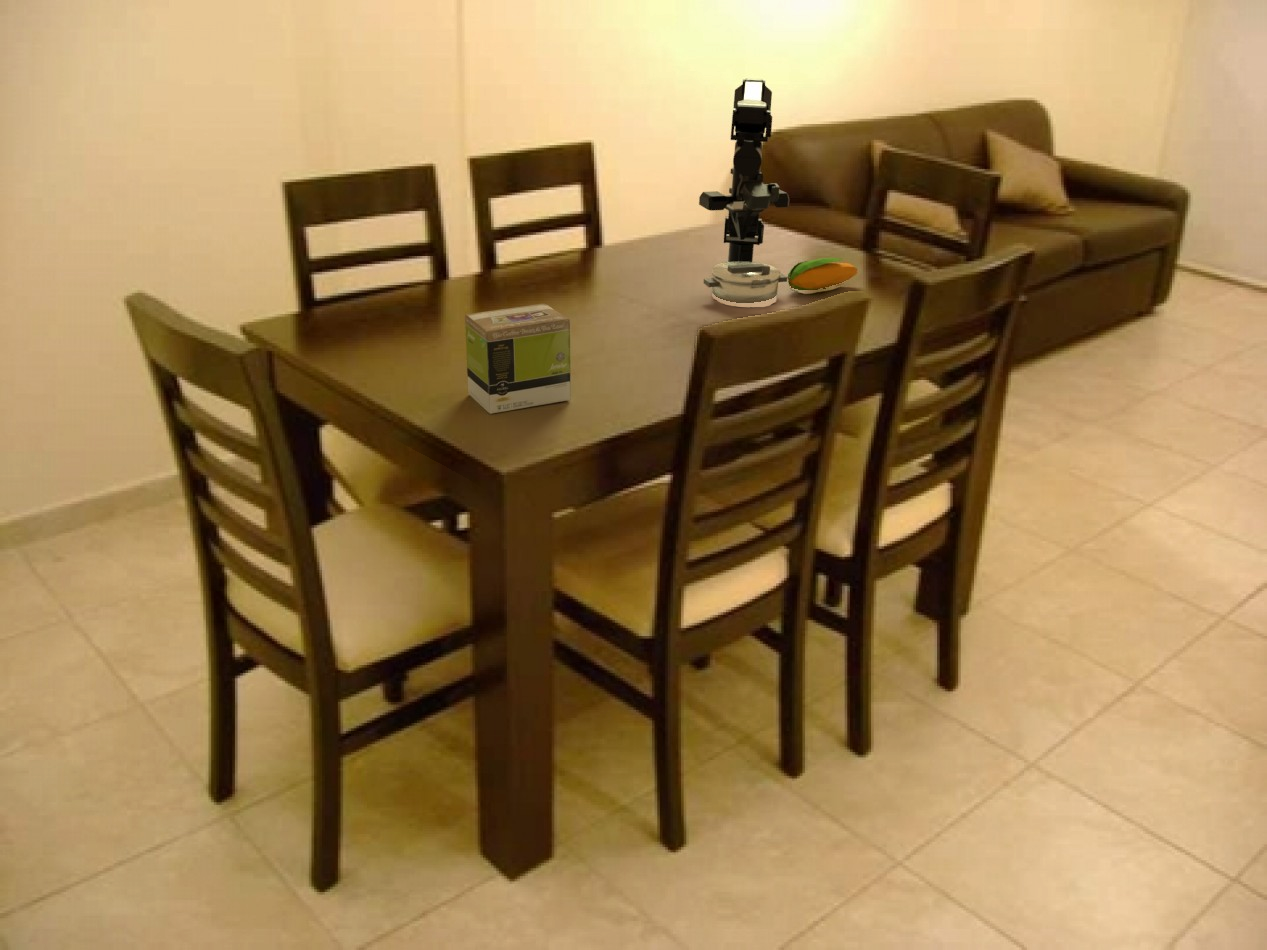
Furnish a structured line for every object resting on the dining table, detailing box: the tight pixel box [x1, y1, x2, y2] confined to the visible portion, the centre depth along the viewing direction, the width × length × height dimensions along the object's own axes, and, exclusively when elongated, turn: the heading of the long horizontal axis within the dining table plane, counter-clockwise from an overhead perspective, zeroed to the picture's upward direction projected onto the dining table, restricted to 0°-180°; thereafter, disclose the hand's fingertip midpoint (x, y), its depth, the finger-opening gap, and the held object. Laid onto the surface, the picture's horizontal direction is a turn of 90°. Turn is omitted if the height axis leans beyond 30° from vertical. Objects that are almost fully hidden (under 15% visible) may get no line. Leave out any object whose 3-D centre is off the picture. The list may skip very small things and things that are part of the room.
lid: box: [711, 261, 782, 285], centre depth 256 cm, size 15×15×3 cm
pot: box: [703, 273, 788, 303], centre depth 258 cm, size 14×18×5 cm
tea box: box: [464, 303, 572, 415], centre depth 200 cm, size 15×10×15 cm, turn 118°
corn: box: [786, 257, 858, 290], centre depth 266 cm, size 7×8×20 cm
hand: (741, 239), depth 258 cm, fingers closed
